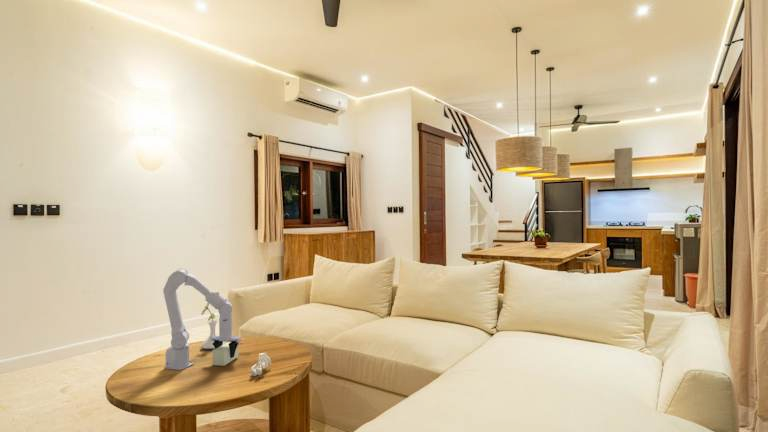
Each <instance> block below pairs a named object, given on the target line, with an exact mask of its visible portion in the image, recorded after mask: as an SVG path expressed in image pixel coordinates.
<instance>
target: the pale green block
mask: <svg viewBox="0 0 768 432" xmlns="http://www.w3.org/2000/svg"><path fill="white" fill-rule="evenodd" d="M229 343H231V342H227V341H226V342H225V343H224V344H223V345H221V346H220V347H218V348H216V349H212V356H211V358H212V366H219V367H220V366H221V367H222V366H223V367H224V366H226V365H228V364H229V363H231V362H232V361H234V360H236V359H237V358H238V357H239V345H238V346H237V348H236V351H235V355H234V357H232V358H231V357H230V348H229Z"/></svg>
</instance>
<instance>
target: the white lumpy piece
mask: <svg viewBox="0 0 768 432" xmlns="http://www.w3.org/2000/svg"><path fill="white" fill-rule="evenodd" d="M269 365H270V366H272V360H271V357H269V356H268V354H267V351H266V352H262V353H258V358H257V363H255V364H254V365H252V366H251V369H250V374H251V376H252V377H257V375H258V376H261V375H262V374H263V371H262V370H263V369H267V368H268V367H269Z"/></svg>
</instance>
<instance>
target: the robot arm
mask: <svg viewBox="0 0 768 432" xmlns="http://www.w3.org/2000/svg"><path fill="white" fill-rule="evenodd" d="M182 285H184V286H191V287H193V289H195V290H196V291H198V292H199V293H200V294H201V295H203V296H204V297H205V298H204V299H205V301H206V303H209V305H210V306H211V307H213V308H214V309H215V310H217V311H218V314H219V319H218V330H219V331H218V332H219V333H218V335H216V336H212V337H211V341H214V342H213V346H214V347H215V349H216V348H218V347H220V346H221V345H223V341H224V342H226V343H227V342H230V343H229V348H230V357H231V358H232V357H234V355H235V351H236V348H237V346H238V347H239V344H240V343H241V342H242V337H241V336H240V337H239V336H236V335H233V313H232V312H233V305H232V302H231V301H230V300H228V299H226V298H224V297H222V295H220V292H219V291H216V290H210V288H208V287H207V286H206V285H205V284H203V283H202V282H201V281H200V280H199V279H198V278H197V277H196V276H195V275H194V274H192V273H191V272H188V270H187V269H186V268H185V269H184V268H178V269H176V270H175V271H173V272H172V273H171V274H170V275H169V276H168V278H167V280H166V282H165V285H164V287H163V289H162V291H163V295H164V296H163V297H164V300H165V305H166V311H167V314H168V318H169V322H170V328H171V330H170V331H171V332H170V333H171V340H170V345H171V346H169V347H167V349H166V351H165V366H164V369H166V370H167V369H169V370H177V371H182V370H185V369H186V368H188V367H190V366H192V365H194V362H190V344H189V343H188V340H189V338H190V333H189V332H188V331H187V329H186V326H185V324H184V322H183V318H182V317H183V316H182V313H181V307H180V304H179V298H178V294H177V290H178V288H179V287H180V286H182Z"/></svg>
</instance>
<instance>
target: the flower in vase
mask: <svg viewBox="0 0 768 432" xmlns="http://www.w3.org/2000/svg"><path fill="white" fill-rule="evenodd" d="M209 305H210V304H209V303H208V302H206V305H205V306H204V309H202V311H201V313H200V315H201V316H202V315H204V314H205V312H206V311H207V310H208V312H209V314H210V315H209V317H208V320H207V324H208V325H209V328H210V334H209V336H208V337H206V339H205V340H204V341H202V343H201V345H200V347H201V348H202V349H204V350H214V349H215V347H214V346H213V342H214V341H211V337H212V336H217V334H216V325H217V323H218V322H219V319H215V318H216V315H215V313H214V312H213V313H212V312H211V311H210V309H209ZM225 343H226V341H223V344H225Z"/></svg>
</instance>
